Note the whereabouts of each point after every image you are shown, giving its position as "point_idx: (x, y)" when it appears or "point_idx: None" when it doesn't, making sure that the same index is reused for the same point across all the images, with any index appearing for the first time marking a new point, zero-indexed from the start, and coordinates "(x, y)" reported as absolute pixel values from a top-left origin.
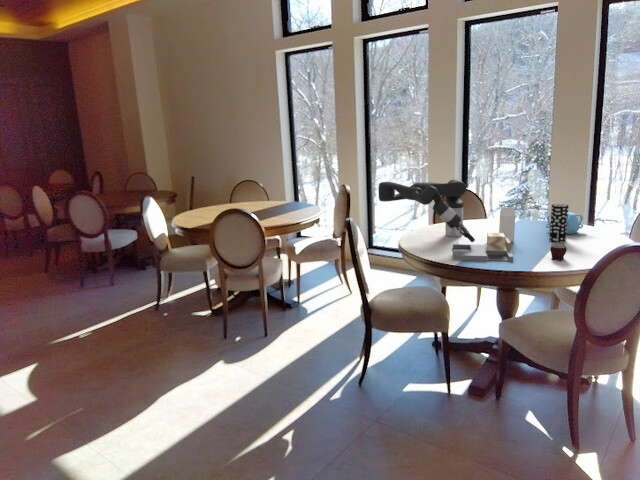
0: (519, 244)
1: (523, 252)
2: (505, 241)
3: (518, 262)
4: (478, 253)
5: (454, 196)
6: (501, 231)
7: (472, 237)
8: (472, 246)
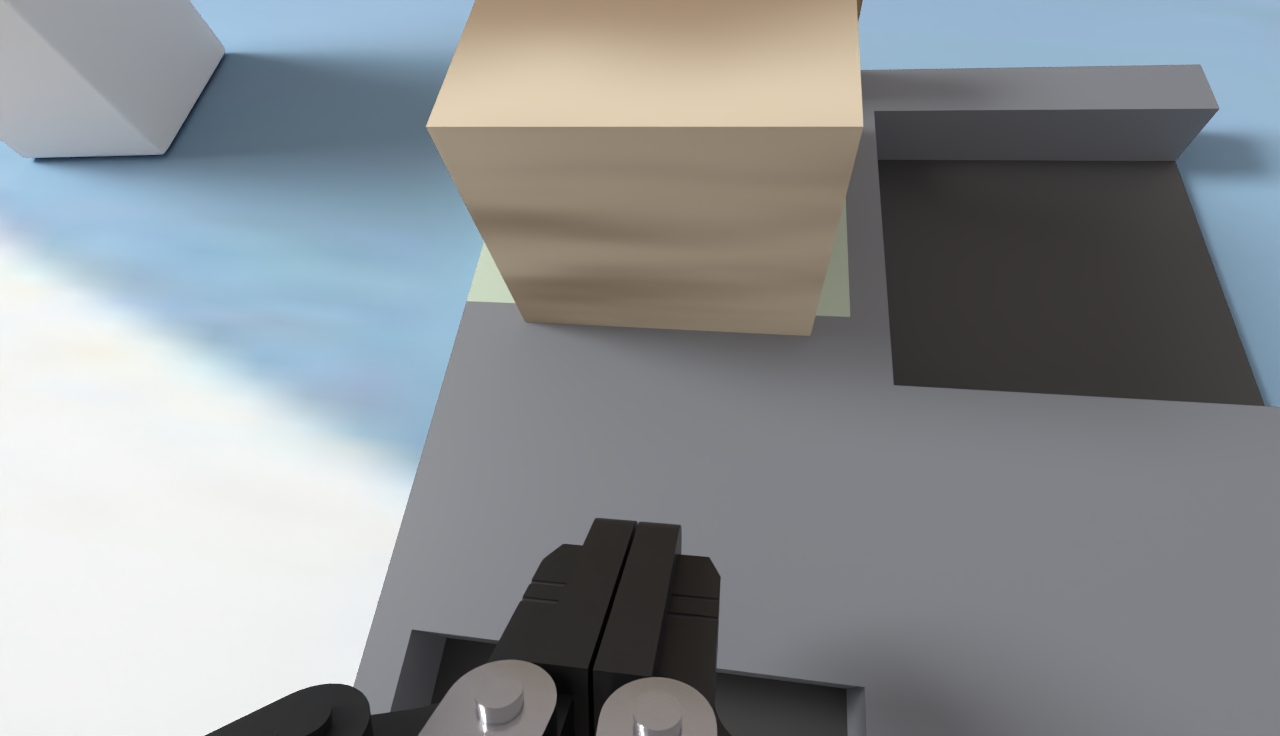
0: (346, 21)
1: None
2: None
3: None
4: (1192, 564)
5: None
6: (38, 26)
7: (670, 594)
8: None
